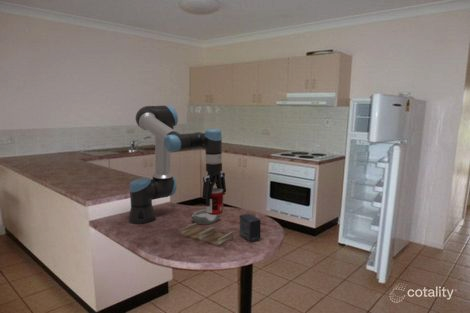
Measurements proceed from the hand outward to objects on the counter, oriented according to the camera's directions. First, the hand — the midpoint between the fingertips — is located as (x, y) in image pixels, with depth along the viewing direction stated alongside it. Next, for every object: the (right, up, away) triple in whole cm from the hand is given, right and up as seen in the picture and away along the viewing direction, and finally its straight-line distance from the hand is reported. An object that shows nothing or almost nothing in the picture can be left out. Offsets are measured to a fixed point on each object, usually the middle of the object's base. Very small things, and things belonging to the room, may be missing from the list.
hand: (215, 210), depth 157 cm
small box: (+17, -15, +5) cm, 23 cm away
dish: (-7, -11, +30) cm, 33 cm away
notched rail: (-4, -15, +6) cm, 16 cm away
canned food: (0, -1, 0) cm, 1 cm away
